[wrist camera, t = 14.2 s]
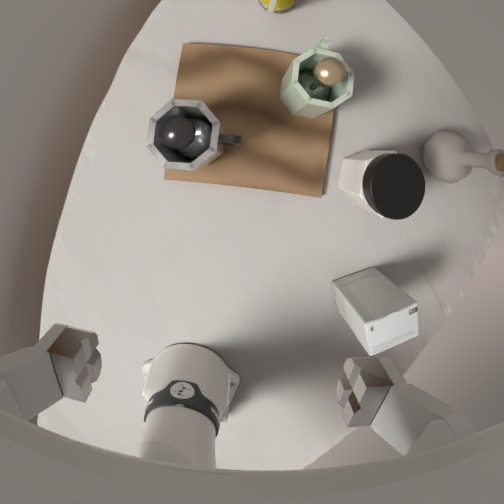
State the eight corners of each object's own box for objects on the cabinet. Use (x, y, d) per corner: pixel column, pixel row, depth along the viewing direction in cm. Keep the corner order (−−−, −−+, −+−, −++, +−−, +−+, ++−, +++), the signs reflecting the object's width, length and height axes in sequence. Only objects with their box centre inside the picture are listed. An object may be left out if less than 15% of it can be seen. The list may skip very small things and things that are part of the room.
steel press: (237, 169, 42) (237, 175, 29) (171, 163, 41) (144, 167, 29) (244, 119, 40) (246, 104, 27) (177, 114, 39) (152, 98, 26)
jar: (344, 212, 46) (377, 231, 34) (328, 162, 43) (358, 165, 32) (392, 193, 45) (433, 207, 33) (378, 145, 42) (419, 145, 31)
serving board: (319, 196, 45) (321, 197, 43) (165, 178, 43) (164, 179, 42) (336, 66, 38) (338, 64, 37) (184, 45, 37) (183, 43, 35)
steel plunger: (210, 158, 36) (198, 159, 25) (172, 155, 36) (146, 156, 25) (215, 121, 34) (205, 106, 24) (176, 118, 34) (152, 104, 24)
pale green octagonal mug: (326, 121, 40) (350, 112, 30) (277, 112, 39) (288, 99, 30) (332, 63, 37) (356, 42, 28) (285, 53, 37) (297, 27, 27)
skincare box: (336, 309, 51) (366, 360, 37) (330, 278, 49) (362, 325, 35) (379, 294, 50) (419, 338, 36) (375, 263, 48) (419, 303, 34)
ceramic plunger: (325, 108, 36) (352, 95, 27) (290, 101, 36) (307, 85, 26) (329, 76, 35) (355, 55, 25) (294, 69, 35) (311, 44, 25)
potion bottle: (416, 178, 44) (489, 195, 27) (418, 126, 41) (492, 122, 24) (453, 183, 45) (524, 201, 27) (455, 135, 42) (528, 138, 25)
